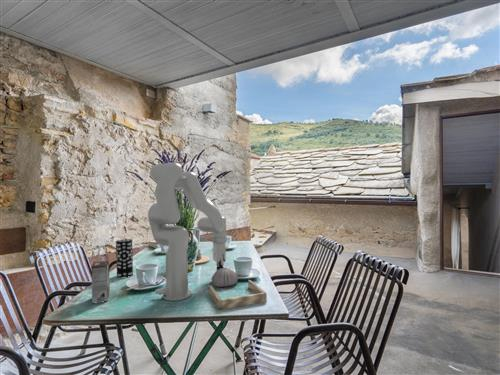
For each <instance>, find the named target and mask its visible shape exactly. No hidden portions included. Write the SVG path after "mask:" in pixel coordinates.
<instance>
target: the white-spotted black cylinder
mask: <svg viewBox="0 0 500 375" xmlns="http://www.w3.org/2000/svg"><path fill="white" fill-rule="evenodd" d="M115 246H116V248H115V249H116V250H115V253H116V255H115V256H116V259H115V260H116V278H117V277H127V278H129V277H128V276H131V275H132V276H134V265H133V262H134V261H133V258H134V257H133V239H131V238H126V239H125V238H124V239H118V240H115ZM132 276H131V277H132Z"/></svg>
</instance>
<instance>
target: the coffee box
mask: <svg viewBox="0 0 500 375" xmlns="http://www.w3.org/2000/svg"><path fill="white" fill-rule="evenodd" d="M90 268H91V304H92V303H95V302H102V301H108V302H109V300H108V299H110V296H109V295H111V293H110V292H111V289H110V288H111V285H110V284H111V283H110V281H111V280H110V260H99V261H94V262H93V263H92V265H91V267H90Z"/></svg>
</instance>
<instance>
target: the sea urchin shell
mask: <svg viewBox="0 0 500 375" xmlns="http://www.w3.org/2000/svg"><path fill="white" fill-rule="evenodd" d="M238 279H239V277H238V275H237V273H236V272H235V271H234V270H232V269H231V268H228V267H223V268H220V269H218V270H217V269H216V271H215V272H214V273H213V275H212V276H211V283H212V285H213V286H215V287H231V286H233V285H235V284H236V283H237V282H238Z"/></svg>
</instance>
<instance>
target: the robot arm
mask: <svg viewBox="0 0 500 375" xmlns="http://www.w3.org/2000/svg"><path fill="white" fill-rule="evenodd" d="M149 176H150V178H151V180H152V181H153V182H155V183H156V186H155V188H154V189H155V190H154V196H155V201H156V202H155V203H153V204H152V205H151V206H150V207H149V209H148V211H147V218H148V222H149V227H150V230H151V233H152V237H153V240H154V241H155V242H156V243H157V244H158V245H160V246H165V247H167V251H166V253H165V285H164V287H162V288H157V289H155V294H156V295H157V294H158V295H159V296H160V295H161V296H162V298H163V300H165V301H169V302H170V301H171V302H176V301H184V300H186V299H189V298H191V296H192V294H193V292H192V290H190V289H189V281H188V280H189V278H188V276H189V275H188V274H189V272H188V269H189V268H188V249H189V248H188V246H189V240H190V234H189V231H188V229H186V228H185V227H184V226H182V225H181V226H180V225H175V224H178V222H179V221H180V219H181V210H180V207H179V203H178V200H177V195H176V190H182V191H183V193H184V196H185V197H186V199H187V201H188V204H189V205H190V206H191V207H192V208H194V209H195V210H197V211H200V212H202V214H204V215H205V216H204V217H202V218H200V219H199V220H198V222H197V224H196V226H197V228H198V230H199V231H200V232H203V233H211V242H212V260H213V261H214V262H215V263H216V271H217V270H218V269H220V268H224V263H225V262H226V260H227V255H226V251H227V250H226V244H227V219H226V217H225V216H223V215H222V213H221V212H220V210H219V209H218V208H217V206H216V205H215V204H214V203H213V202H212V201H211V200H209V199H208V198H207V196H206V194H205V192H204V190H203V188H202V185H201V183H200V180H199V178H198V177H197V176H198V175H197V174H196V173H195V172H192V171H183V167H182V166H181V164H180V163H178V162H177V163H176V162H166V163H157V164H154V165H153V166H152V167H151V168H150V170H149Z"/></svg>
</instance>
